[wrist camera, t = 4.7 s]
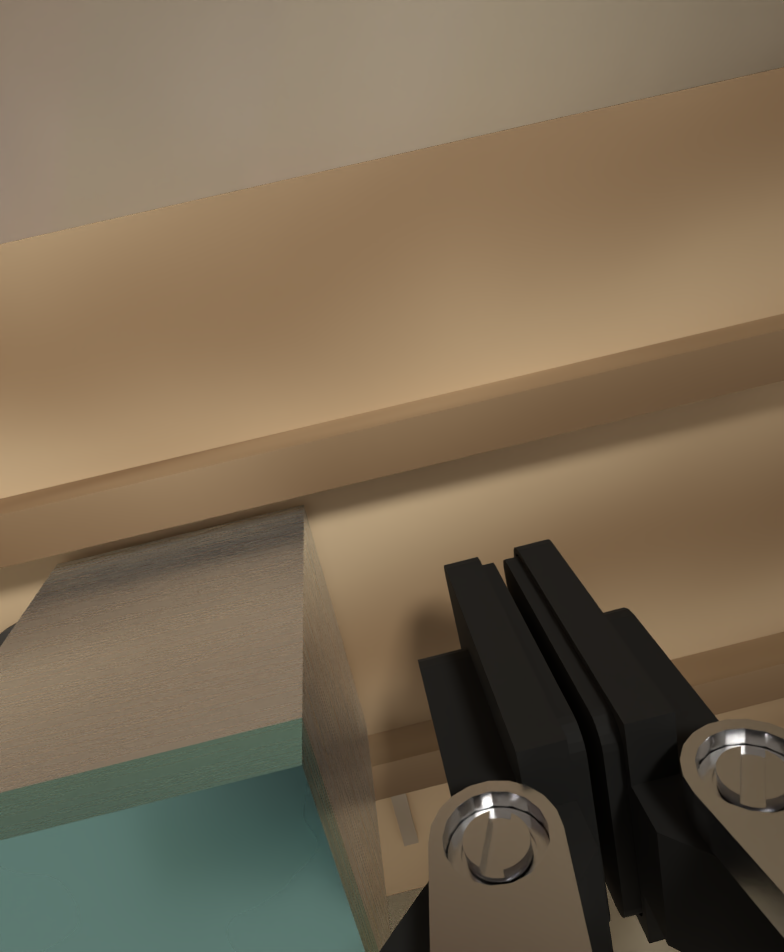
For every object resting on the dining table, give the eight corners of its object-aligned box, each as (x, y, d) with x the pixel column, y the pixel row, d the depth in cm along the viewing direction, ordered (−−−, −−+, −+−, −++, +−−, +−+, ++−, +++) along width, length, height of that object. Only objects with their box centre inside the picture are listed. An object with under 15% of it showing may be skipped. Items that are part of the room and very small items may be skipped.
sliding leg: (57, 563, 11) (-160, 879, 6) (303, 505, 11) (301, 765, 6) (154, 779, 13) (51, 1169, 8) (366, 726, 13) (406, 1075, 8)
